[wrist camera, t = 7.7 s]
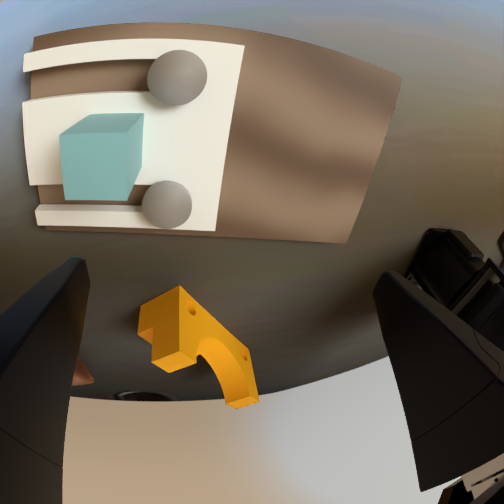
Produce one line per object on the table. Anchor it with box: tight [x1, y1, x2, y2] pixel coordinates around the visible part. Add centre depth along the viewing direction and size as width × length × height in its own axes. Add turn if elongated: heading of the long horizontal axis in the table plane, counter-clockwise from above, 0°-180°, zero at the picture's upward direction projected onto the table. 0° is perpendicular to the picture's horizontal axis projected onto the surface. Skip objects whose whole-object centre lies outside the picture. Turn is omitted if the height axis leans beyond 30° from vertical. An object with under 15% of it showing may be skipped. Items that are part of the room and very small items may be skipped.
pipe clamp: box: [138, 285, 259, 409], centre depth 25 cm, size 12×4×6 cm, turn 28°
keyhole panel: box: [23, 39, 245, 231], centre depth 12 cm, size 11×12×5 cm
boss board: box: [31, 22, 402, 243], centre depth 15 cm, size 13×22×3 cm, turn 80°
